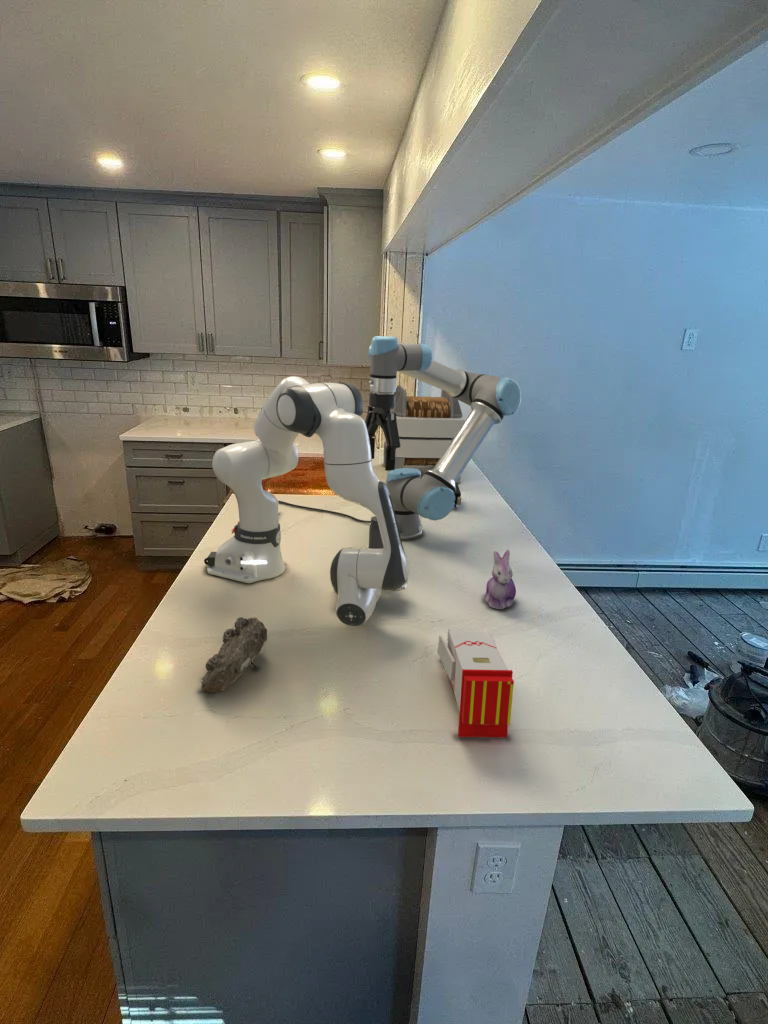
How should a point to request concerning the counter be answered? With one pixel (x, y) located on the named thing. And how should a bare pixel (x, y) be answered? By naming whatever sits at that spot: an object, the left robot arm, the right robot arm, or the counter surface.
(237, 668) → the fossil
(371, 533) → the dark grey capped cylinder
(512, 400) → the right robot arm
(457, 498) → the figurine character
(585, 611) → the counter surface
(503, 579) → the figurine
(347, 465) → the left robot arm
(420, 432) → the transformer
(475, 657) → the toy
